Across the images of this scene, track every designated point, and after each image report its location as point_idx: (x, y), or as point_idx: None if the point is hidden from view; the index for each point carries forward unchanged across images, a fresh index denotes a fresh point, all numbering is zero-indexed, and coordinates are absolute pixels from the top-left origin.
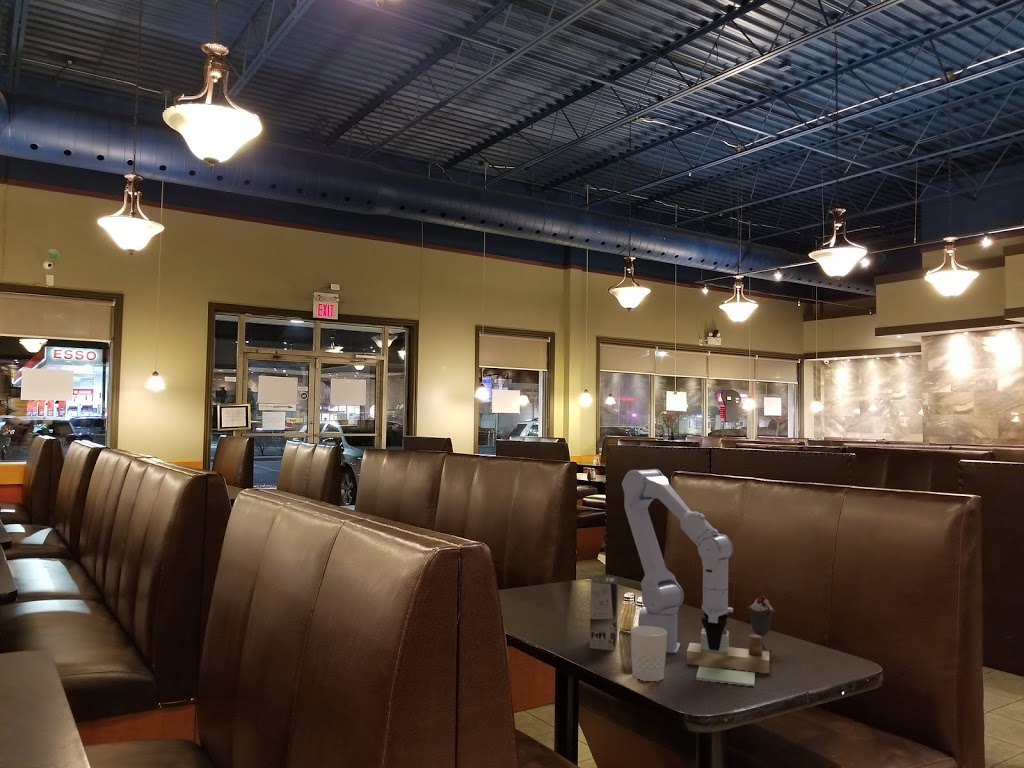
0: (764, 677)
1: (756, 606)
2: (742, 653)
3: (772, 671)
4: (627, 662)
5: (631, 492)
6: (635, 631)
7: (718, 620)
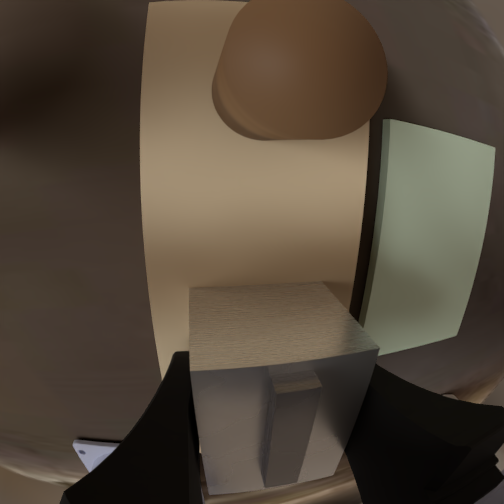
0: (387, 78)
1: None
2: (278, 185)
3: None
4: (326, 484)
5: None
6: None
7: (478, 476)
